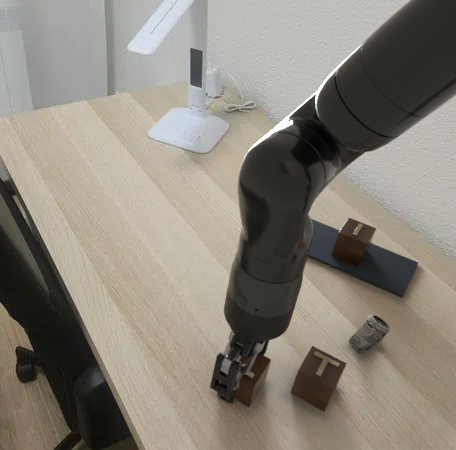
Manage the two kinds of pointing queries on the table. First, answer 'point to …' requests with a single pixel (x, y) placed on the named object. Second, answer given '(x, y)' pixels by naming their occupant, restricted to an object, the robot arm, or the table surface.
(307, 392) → the tile
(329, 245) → the mat
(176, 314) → the table surface
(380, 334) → the silver wristwatch
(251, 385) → the tile
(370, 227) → the tile
